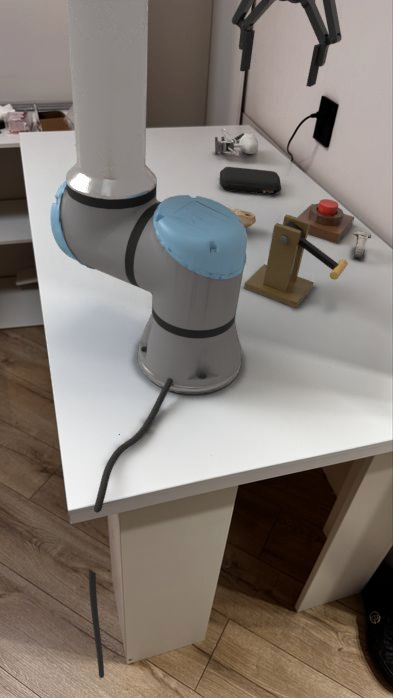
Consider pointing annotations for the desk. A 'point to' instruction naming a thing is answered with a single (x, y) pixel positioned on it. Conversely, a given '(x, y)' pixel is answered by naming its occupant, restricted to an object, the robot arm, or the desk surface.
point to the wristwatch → (360, 243)
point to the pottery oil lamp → (245, 217)
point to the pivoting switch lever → (321, 255)
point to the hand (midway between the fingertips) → (277, 77)
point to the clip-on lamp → (246, 144)
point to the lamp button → (328, 207)
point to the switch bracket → (283, 266)
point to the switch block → (327, 223)
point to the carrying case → (250, 180)
